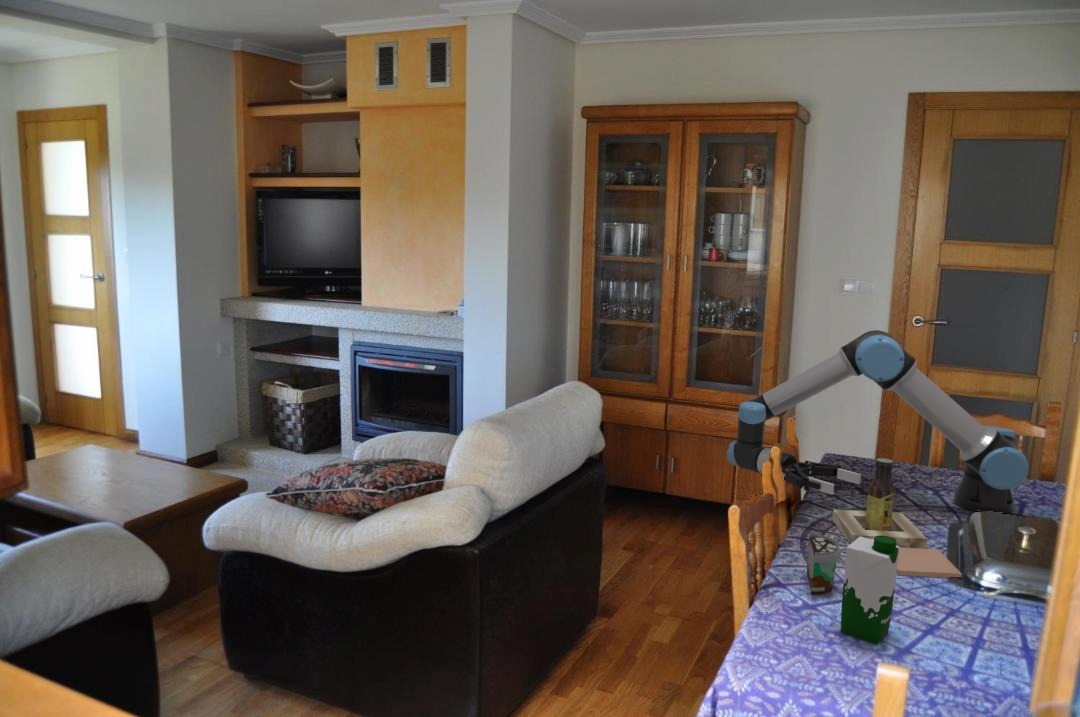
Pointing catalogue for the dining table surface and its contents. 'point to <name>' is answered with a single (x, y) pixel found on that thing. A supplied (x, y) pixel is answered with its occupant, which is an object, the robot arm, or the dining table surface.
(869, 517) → the sauce bottle
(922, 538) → the bottle stand
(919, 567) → the terracotta tile
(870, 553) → the milk carton
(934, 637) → the dining table surface
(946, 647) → the dining table surface
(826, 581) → the food container
